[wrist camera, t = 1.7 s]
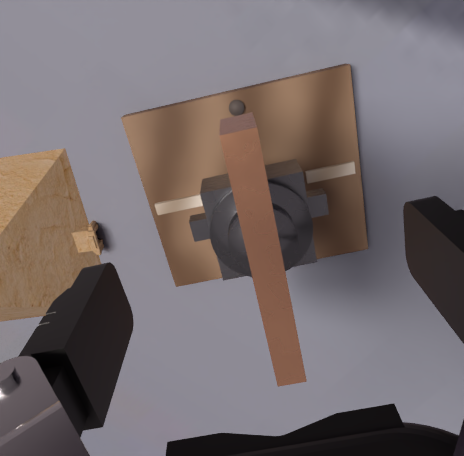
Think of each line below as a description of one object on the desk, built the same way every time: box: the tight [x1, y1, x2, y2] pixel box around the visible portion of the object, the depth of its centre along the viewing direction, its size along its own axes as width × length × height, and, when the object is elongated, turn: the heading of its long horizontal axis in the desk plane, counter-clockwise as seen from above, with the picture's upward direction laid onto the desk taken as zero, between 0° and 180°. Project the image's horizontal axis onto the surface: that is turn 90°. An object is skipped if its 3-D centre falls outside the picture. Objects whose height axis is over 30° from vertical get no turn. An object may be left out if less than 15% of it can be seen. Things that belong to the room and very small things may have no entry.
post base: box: [121, 64, 368, 287], centre depth 33 cm, size 18×16×9 cm
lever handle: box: [189, 112, 329, 386], centre depth 27 cm, size 10×16×9 cm, turn 12°
